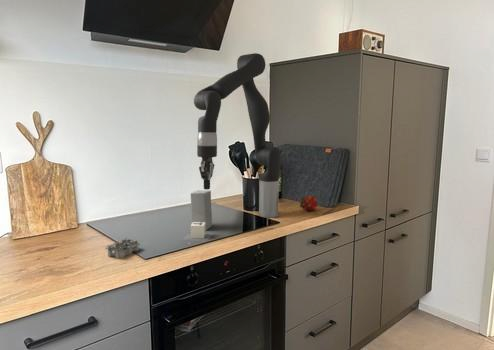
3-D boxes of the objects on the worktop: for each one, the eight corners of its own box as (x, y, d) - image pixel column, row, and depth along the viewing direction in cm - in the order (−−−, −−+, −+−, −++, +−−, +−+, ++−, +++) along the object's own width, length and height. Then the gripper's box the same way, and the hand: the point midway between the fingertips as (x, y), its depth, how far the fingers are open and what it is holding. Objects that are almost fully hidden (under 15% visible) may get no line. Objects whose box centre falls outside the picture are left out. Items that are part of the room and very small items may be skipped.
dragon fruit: (299, 215, 182) (313, 214, 190) (311, 207, 177) (326, 207, 185) (293, 199, 185) (308, 200, 194) (305, 192, 180) (319, 192, 188)
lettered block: (193, 234, 146) (192, 221, 145) (205, 234, 146) (205, 221, 145) (190, 238, 141) (190, 225, 140) (203, 238, 141) (203, 225, 140)
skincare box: (206, 231, 150) (206, 193, 148) (190, 229, 152) (189, 192, 149) (213, 225, 158) (212, 189, 156) (197, 224, 160) (197, 189, 157)
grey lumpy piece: (119, 260, 119) (119, 248, 119) (103, 256, 123) (102, 244, 122) (142, 249, 129) (142, 238, 128) (127, 246, 132) (126, 235, 131)
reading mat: (190, 232, 149) (190, 231, 149) (214, 233, 147) (214, 233, 147) (181, 240, 139) (181, 239, 139) (206, 241, 138) (206, 241, 137)
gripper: (212, 145, 131) (211, 192, 134) (220, 144, 144) (220, 186, 147) (192, 144, 133) (192, 191, 135) (202, 143, 146) (202, 186, 148)
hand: (206, 189), depth 141 cm, fingers closed
